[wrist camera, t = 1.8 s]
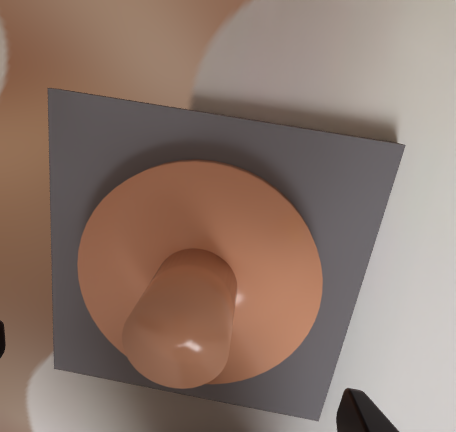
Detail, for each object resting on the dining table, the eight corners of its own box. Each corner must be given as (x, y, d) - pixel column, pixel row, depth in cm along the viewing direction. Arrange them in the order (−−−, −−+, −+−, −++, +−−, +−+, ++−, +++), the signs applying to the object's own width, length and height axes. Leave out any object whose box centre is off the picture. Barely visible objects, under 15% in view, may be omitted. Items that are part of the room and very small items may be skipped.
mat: (316, 409, 15) (318, 421, 15) (61, 359, 16) (53, 368, 15) (398, 143, 11) (405, 145, 11) (57, 88, 12) (47, 88, 11)
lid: (292, 387, 14) (302, 488, 11) (87, 348, 15) (26, 432, 11) (346, 181, 11) (387, 220, 8) (88, 140, 12) (6, 157, 8)
